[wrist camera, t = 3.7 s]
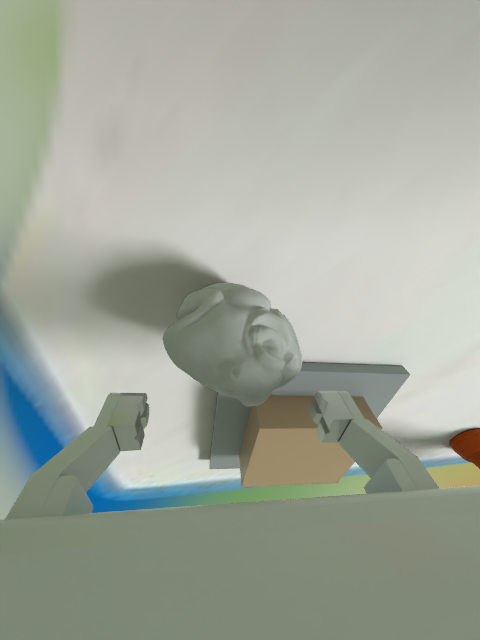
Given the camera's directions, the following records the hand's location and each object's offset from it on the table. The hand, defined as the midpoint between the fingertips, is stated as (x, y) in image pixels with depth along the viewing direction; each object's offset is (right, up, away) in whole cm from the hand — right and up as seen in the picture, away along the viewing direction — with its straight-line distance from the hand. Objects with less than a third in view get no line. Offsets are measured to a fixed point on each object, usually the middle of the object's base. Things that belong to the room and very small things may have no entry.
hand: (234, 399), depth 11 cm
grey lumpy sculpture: (-1, +5, +5) cm, 7 cm away
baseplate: (+6, -6, +13) cm, 15 cm away
